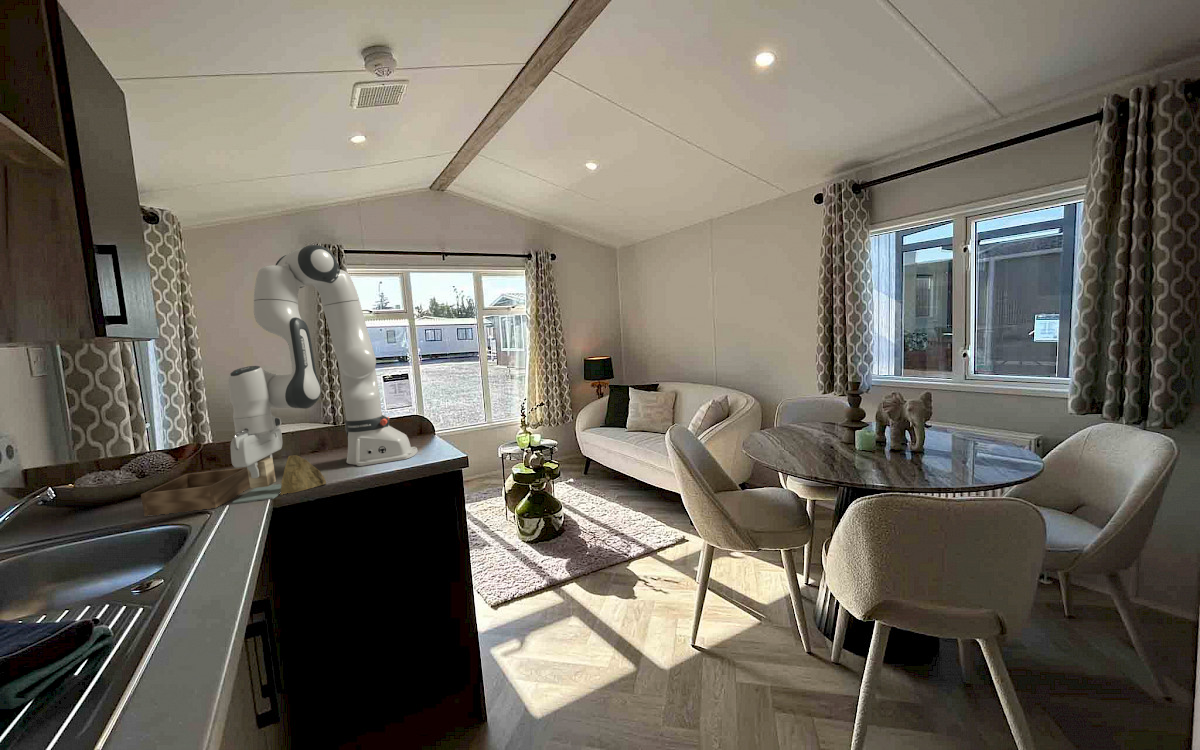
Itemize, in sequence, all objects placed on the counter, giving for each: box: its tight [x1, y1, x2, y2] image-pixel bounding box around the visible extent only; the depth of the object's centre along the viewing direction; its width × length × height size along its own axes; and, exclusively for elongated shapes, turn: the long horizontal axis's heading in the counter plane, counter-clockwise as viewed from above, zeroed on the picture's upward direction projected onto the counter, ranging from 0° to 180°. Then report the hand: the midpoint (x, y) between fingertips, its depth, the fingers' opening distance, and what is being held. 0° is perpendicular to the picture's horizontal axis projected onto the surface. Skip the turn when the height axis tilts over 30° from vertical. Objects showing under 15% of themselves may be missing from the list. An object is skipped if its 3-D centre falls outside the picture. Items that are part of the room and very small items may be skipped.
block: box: [247, 457, 277, 489], centre depth 140 cm, size 4×4×7 cm
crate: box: [140, 467, 251, 517], centre depth 138 cm, size 17×18×6 cm
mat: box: [231, 483, 281, 505], centre depth 140 cm, size 10×13×1 cm
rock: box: [279, 454, 327, 496], centre depth 141 cm, size 11×9×10 cm
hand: (262, 474), depth 140 cm, fingers closed on block, 4 cm apart
